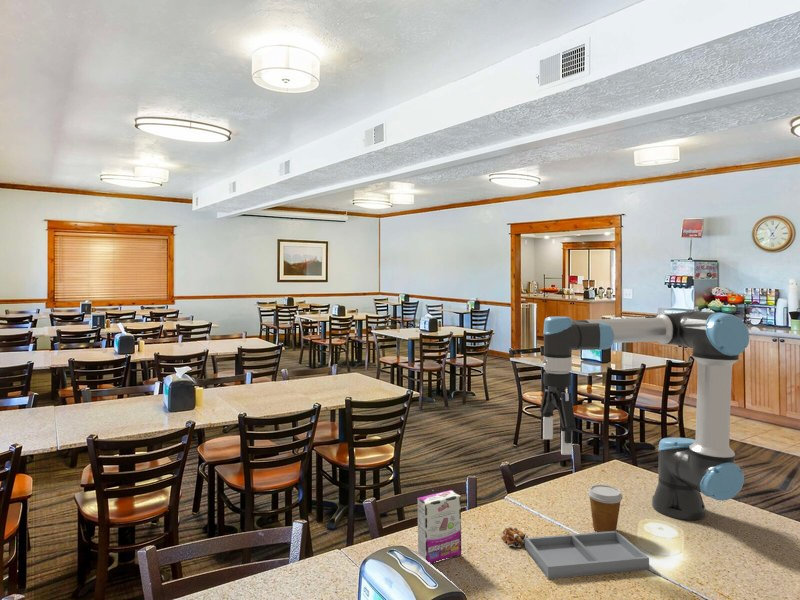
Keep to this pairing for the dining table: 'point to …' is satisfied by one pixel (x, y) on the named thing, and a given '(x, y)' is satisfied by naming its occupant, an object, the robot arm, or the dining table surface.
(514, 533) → the brown lumpy cluster
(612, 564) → the gray divided tray
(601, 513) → the disposable coffee cup
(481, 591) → the dining table surface
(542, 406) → the robot arm
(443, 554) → the candy bar box
